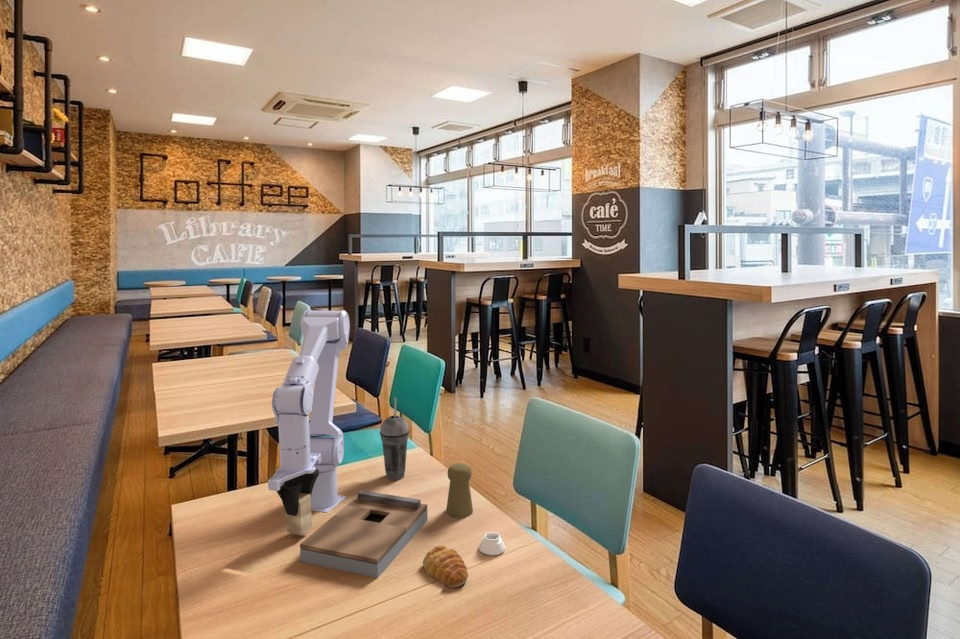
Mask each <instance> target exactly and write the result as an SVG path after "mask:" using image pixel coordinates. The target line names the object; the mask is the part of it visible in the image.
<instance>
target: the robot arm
mask: <svg viewBox="0 0 960 639" xmlns="http://www.w3.org/2000/svg"><path fill="white" fill-rule="evenodd" d="M350 329H351V328H350V316H349V313H348V312H347V311H346V310H345V309H342V310H310V309H306V310H304V311H303V313H302V314H301V317H300V331H301V334H302V337H303V341H302V345H301V349H300V353H299V356H295V357H294V358H293V359H292V360H291V362H290V364H289V367H288V370H287V373H286V375H285V377H284V380H283V382H282V385H281V384H280V385H279V387H276V388H275V389H274V391H273V394H272V397H271V399H272V400H271V409H272V412H273V414H274V421H275V424H277V426H278V443H279V444H278V445H279V463H280V466H279V467H278V469H277V470H276V472H275V473H274V474H273V476H272V477H270V478H269V479H267V486H268V487H267V488H268V490H269V491H273V492H276V493H277V495H278V496H279V498H280V500H281V503H282V505H283V508H284V511H285V515H286V514H287V515H292V516H296V515H297V512H298V500H299V493H305V494H311V511H313V512H320V513H324V514H325V513H328V512H330V511H331V510H332V509H334V508H335V507H336V506H337V505H339V504H340V503H341V502H342V501H343V500H344V499H345V500H346V496H345V495H340V494H339V495H338V474H337V473H338V472H337V468H338V466H340V464H342V462H343V459H344V453H345V444H344V433H343V431H342V430H341V428H339V427H338V426H337V425H336V424H334V422H333V418H334V408H335V399H336V398H335V397H336V390H337V380H338V379H337V378H338V368H339V359H340V355H341V352H342V351H343V350H346V349H347V348H348V343H349V337H350ZM310 413H311V414H310ZM309 417H310V418H309Z"/></svg>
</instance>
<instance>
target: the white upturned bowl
mask: <svg viewBox="0 0 960 639" xmlns="http://www.w3.org/2000/svg"><path fill="white" fill-rule="evenodd" d="M478 549H479V551H480V552H481V553H482V554H484V555H488V556H496V555H501V554H503V552H505V551H506V545H505V543H504V541H503V539H502V537H501V535H500V533H498V532H495V531H489V532H486V533H485V534H484V536H483V537H482V540H480V542H479V545H478Z"/></svg>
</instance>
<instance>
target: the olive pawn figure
mask: <svg viewBox="0 0 960 639" xmlns="http://www.w3.org/2000/svg"><path fill="white" fill-rule="evenodd" d="M447 478H448V479H449V488H448V495H447V502H446V510H445V514H447V515H448V516H449V517H452V518H455V519H457V518H459V519H460V518H461V519H462V518H467V517H469V516H471V515H472V514H473V513H474V508H473V501H472V494H471V485H470V480H471V478H472V469H471V467H470V466H469V465H468V464H466V463H461V462H460V463H458V462H457V463H454V464H452V465H451V464H450V466H449V467H448V469H447Z"/></svg>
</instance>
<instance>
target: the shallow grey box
mask: <svg viewBox="0 0 960 639" xmlns="http://www.w3.org/2000/svg"><path fill="white" fill-rule="evenodd" d="M386 517H387V516H385V515H379V514H374V513H370V514H369V515H368V516H367V517H366V518H365V519H364V520H366V521H371V522H377V523H380V522H381V521H382V520H384V519H385V518H386ZM427 522H428V508H427V509H426V510H425V511H424V513H423V514H422V515H421V516H420V517H419V518H418V519H417V520H416V522H415V523H414V524H413V525H412V526H411V527H410V528H409V529H408V530H407V532H406V533H405V534H404V535H403V536H402V537H401V538H400V539H399V540H398V542H397V543H396V544H395V545H394V546H393V547H392V548H391V549H390V550H389V552H388V553H387V554H386V555H385V556H384V557H383V558H382V559H381V560H380V562H379V563H378V564H376V563H372V562H367V561H362V560H357V559H352V558H347V557H342V556H337V555H332V554H327V553H322V552H317V551H312V550H307V549H302V548H299V549H300V550H299V551H300V553H299V556H300V557H299V558H300V562H301V563H306V564H309V565H314V566H319V567H325V568H328V569H332V570H339V571H343V572H347V573H353V574H356V575H357V574H358V575H362V576H367V577H371V578H374V579H375V578H376V579H378V578H380V576H381V575H382V574H383V573H384V572H385V571H386V570H387V568H388V567H389V566H390V565H391V564H392V563H393V562H394V561H395V559H396V558H397V557H398V556H399V554H400V553H401V552H402V551H403V549H405V547H406V546H407V545H408V544H409V543H410V541H412V540H413V539H414V537H415V535H417V533H418V532H419V531H420V530H421V529H422V528H423V527H424V525H425V524H426V523H427Z"/></svg>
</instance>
